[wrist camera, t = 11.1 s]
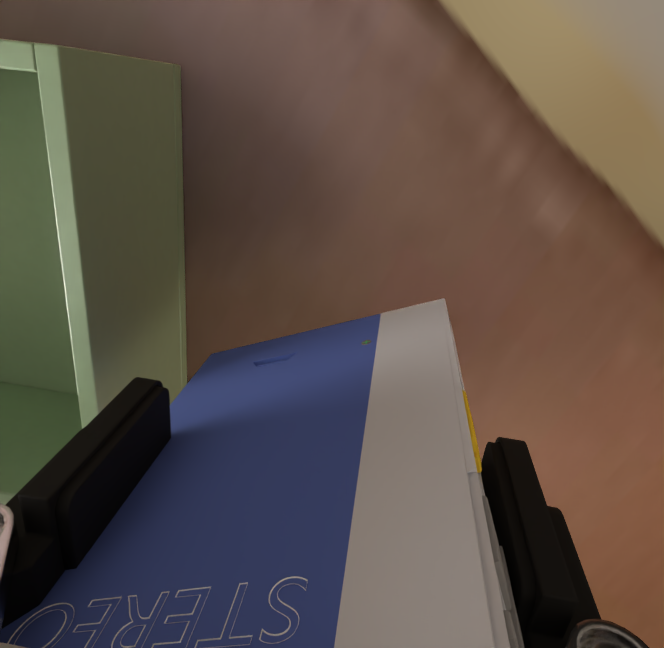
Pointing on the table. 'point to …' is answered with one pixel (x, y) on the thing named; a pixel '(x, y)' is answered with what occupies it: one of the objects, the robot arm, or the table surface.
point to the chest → (85, 242)
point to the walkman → (302, 508)
